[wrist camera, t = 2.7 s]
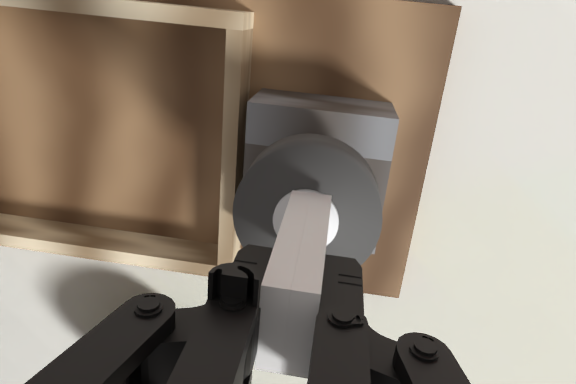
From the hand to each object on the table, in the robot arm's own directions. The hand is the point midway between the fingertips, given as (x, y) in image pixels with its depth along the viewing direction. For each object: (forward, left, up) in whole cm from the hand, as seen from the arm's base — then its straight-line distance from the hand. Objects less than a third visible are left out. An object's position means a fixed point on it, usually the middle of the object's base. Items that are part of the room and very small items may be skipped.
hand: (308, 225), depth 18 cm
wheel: (0, 0, -7) cm, 7 cm away
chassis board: (-9, 0, -10) cm, 13 cm away
